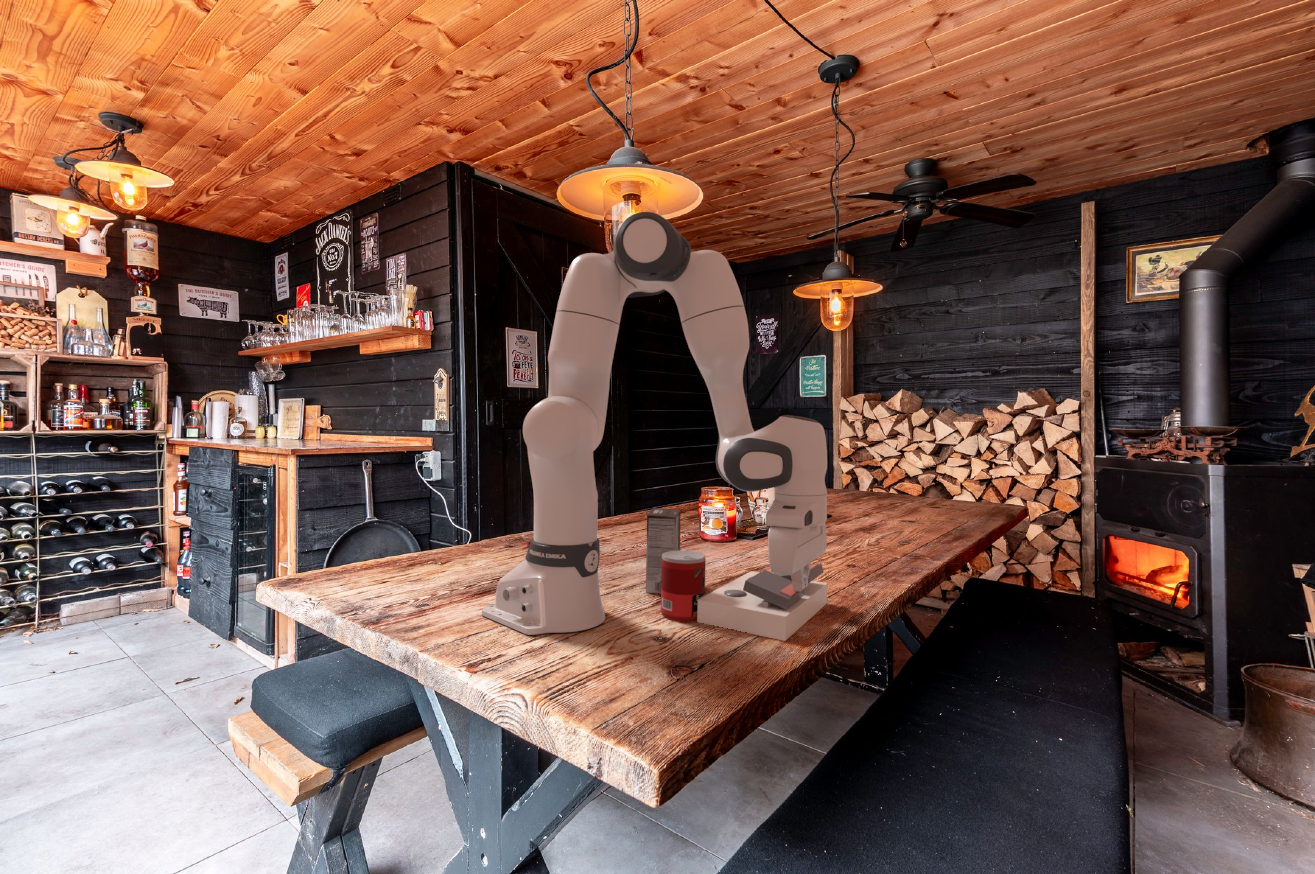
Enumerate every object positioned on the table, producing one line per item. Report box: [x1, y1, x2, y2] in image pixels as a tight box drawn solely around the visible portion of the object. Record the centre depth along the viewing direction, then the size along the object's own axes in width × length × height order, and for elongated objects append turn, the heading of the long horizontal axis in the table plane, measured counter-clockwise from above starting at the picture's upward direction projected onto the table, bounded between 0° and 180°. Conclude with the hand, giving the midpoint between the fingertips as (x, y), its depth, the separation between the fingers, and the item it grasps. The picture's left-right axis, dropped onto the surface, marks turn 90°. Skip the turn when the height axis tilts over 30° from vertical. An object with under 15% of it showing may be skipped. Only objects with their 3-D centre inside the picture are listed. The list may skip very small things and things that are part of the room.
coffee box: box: [645, 507, 682, 595], centre depth 127 cm, size 9×6×16 cm
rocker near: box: [743, 569, 805, 609], centre depth 106 cm, size 8×9×2 cm
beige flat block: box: [696, 570, 828, 642], centre depth 112 cm, size 16×24×5 cm, turn 149°
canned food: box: [660, 550, 707, 622], centre depth 110 cm, size 8×8×11 cm
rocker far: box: [774, 562, 824, 583], centre depth 116 cm, size 8×9×2 cm
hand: (800, 589), depth 105 cm, fingers closed, pressing on rocker near
